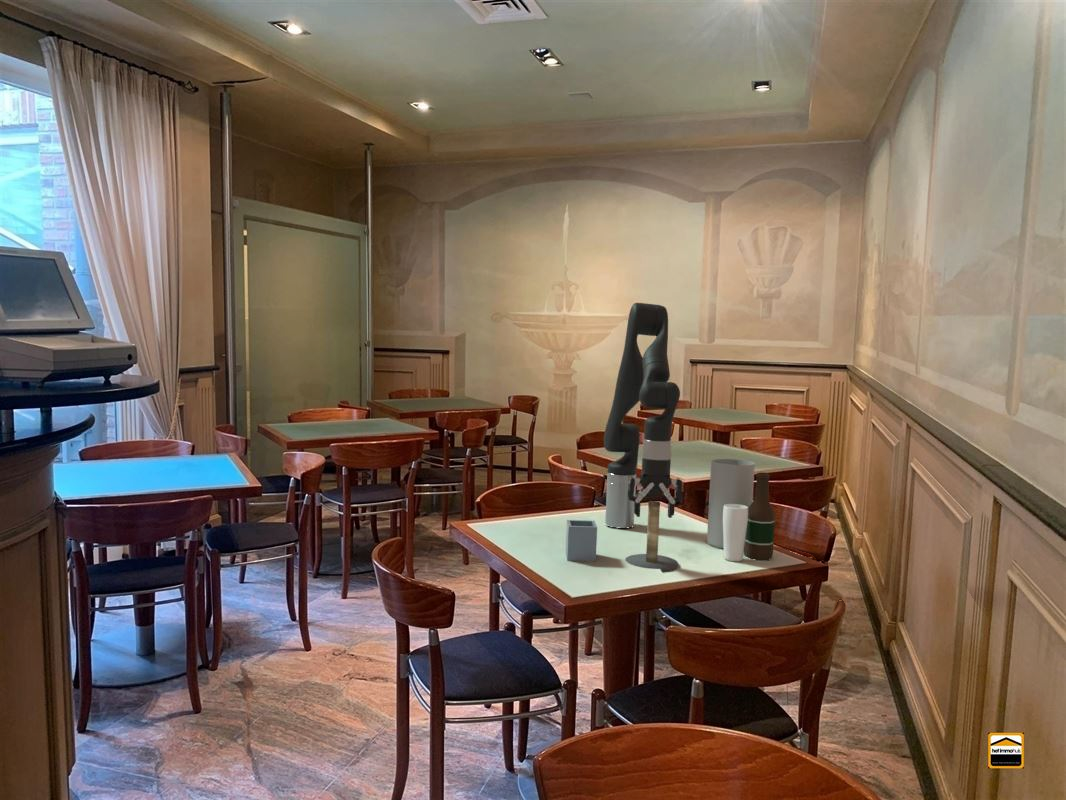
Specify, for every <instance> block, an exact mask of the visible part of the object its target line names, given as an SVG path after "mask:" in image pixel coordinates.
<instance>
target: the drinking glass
mask: <svg viewBox="0 0 1066 800" xmlns="http://www.w3.org/2000/svg"><path fill="white" fill-rule="evenodd" d="M747 524H748V507H747V506H744V505H739V504H725V505H724V508H723V547H724V549H723V558H724V560H725V561H728V560H729V562H735V561H737V562H741V561H743V559H744V545H745V538H746V531H747Z"/></svg>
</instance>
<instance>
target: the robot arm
mask: <svg viewBox="0 0 1066 800" xmlns="http://www.w3.org/2000/svg"><path fill="white" fill-rule="evenodd" d="M628 313H629V314H628V319H627V326H626V334H625V341H624V346H623V347H624V348H623V352H622V357H621V361H620V365H619V370H618V374H617V379H616V383H615V389H614V395H613V400H612V405H611V408H610V412H609V416H608V418H607V423H606V426H605V429H604V435H603V447H604V449H605V450H606V451H607V452H609V453H624V454H623V455H622V456H621V457H620V458H618V459H617V460H614V461H612V462H609V463H608V465H607V473H606V474H607V476H606V477H607V479H606V496H605V497H606V499H605V501H606V503H605V520H604V521H605V522H604V523H606V524H607V525H609V526H612V527H620V528H627V527H632V526H634V527H635V516H636V517H637V518H640V517H641V501H642V500H643V498H645V497H646V496H647V494H648V495H650V496H653V495H657V496H662V495H663V494H664V496H665V497H666V499H667V500H668V503H667V517H668V518H673V516H674V515H675V509H676V508H675V505H676V503H681V502H682V501H683V481H682V479H680V478H678V477H677V478H674V479H673V478H672V479H671V465H672V464H671V462H672V444H671V443H672V440H671V439H672V425H673V421H674V416H675V412H676V410H677V406H678V404H679V401H680V397H681V391H680V387H679V385H678V384H677V383H676V382H672V381H669V380H670V377H671V376H670V375H671V372H670V365H669V359H668V340H669V338H668V337H669V314H668V310H667V308H666V307H665V306H664V305H661V304H653V303H646V302H645V303H644V302H634V303H633V304H632V305H631V307H630V311H629V312H628ZM639 335H641V336H649V337H655V339H654V340H653V342H652V343H650V345H648V346H647V349H645V351H644V353H643V355H642V353H641V350H640V347H639V345H638V336H639ZM639 402H640V404H641V405H642V406H643V407H645V408H649V409H664V410H663V412H662V413H661V414H660V415H656V416H650V417H647V418H645V421H644V431H643V432H644V435H643V445H642V453H641V454H642V456H641V457H642V458H641V474H640V477H639V478H638V477H637V468H638V461H639V459H638V458H639V448H640V439H641V438H640V435H641V434H640V429H639V427H638V425H637V424H635V423H623V421H624V418H625V417H626V416H627V415H628V413H629V412H630V411H631V410H632V409H633V408H634V407H635V406H636V405H637V404H638V403H639ZM639 484H640V486H641V489H639V491H638V493H636V490H637V489H636V487H637V486H638V485H639ZM671 485H673V487H674V488H675V496H674V497H673V496H672V494H671V493H670V491H669V490H668V489H669V487H670V486H671ZM632 528H633V527H632Z"/></svg>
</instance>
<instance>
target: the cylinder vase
mask: <svg viewBox="0 0 1066 800" xmlns="http://www.w3.org/2000/svg"><path fill="white" fill-rule="evenodd" d="M709 476H710V477H709V479H710V480H709V497H708V511H707V512H708V515H707V516H708V517H707V534H706V535H707V536H706V541H707V544H709V545H710V546H712V547H715V548H718V549H722V548H723V550H724V547H723V508H724V505H725V504H739V505H744V506H747V507H748V508H749V506H750V505H751V504H752V502H753V501H754V481H755V462H754V461H751V460H750V461H749V460H745V459H739V458H738V459H735V458H715V459H714V458H713V459H710V474H709ZM744 547H745V545H744Z"/></svg>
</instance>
